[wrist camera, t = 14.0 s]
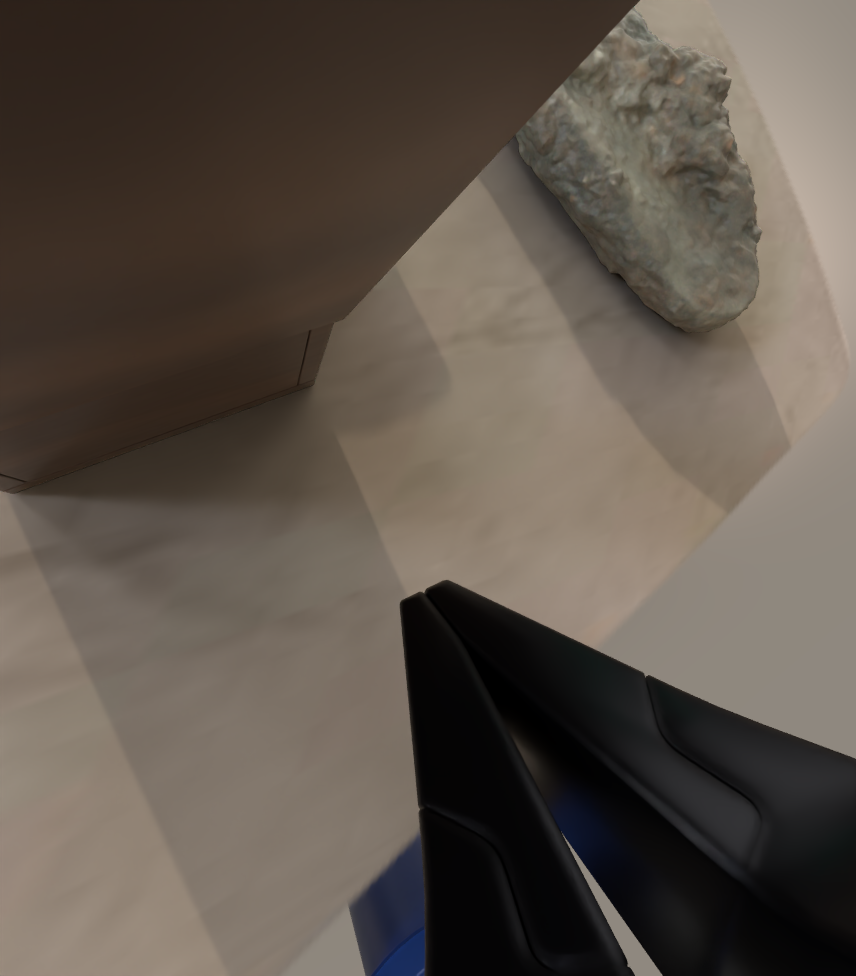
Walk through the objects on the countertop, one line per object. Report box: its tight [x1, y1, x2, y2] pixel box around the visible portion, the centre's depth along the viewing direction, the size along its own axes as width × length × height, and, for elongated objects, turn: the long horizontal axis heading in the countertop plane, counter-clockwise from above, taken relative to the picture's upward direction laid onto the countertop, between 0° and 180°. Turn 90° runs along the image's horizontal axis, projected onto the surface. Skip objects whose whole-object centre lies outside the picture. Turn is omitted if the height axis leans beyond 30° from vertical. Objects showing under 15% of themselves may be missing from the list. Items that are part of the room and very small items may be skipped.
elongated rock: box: [515, 7, 762, 333], centre depth 26 cm, size 35×5×10 cm
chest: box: [0, 323, 334, 493], centre depth 17 cm, size 14×12×7 cm
